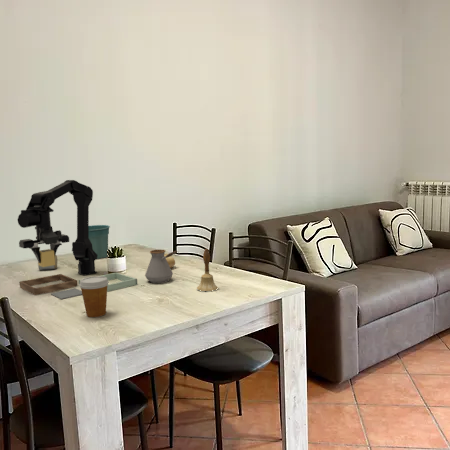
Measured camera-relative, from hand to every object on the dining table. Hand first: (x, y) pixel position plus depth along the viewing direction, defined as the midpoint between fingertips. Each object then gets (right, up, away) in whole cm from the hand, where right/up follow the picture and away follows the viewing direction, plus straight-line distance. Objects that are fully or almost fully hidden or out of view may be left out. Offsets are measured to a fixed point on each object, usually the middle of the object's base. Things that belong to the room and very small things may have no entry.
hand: (46, 261), depth 200 cm
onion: (+46, -5, +28) cm, 54 cm away
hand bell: (+66, -10, -10) cm, 68 cm away
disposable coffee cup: (+30, -15, -36) cm, 49 cm away
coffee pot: (+49, -9, +1) cm, 49 cm away
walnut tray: (0, -10, +2) cm, 10 cm away
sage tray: (+25, -10, +1) cm, 27 cm away
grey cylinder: (-12, -6, +36) cm, 38 cm away
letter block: (0, -1, 0) cm, 1 cm away
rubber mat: (+12, -12, -10) cm, 20 cm away
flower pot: (+5, -2, +60) cm, 60 cm away
